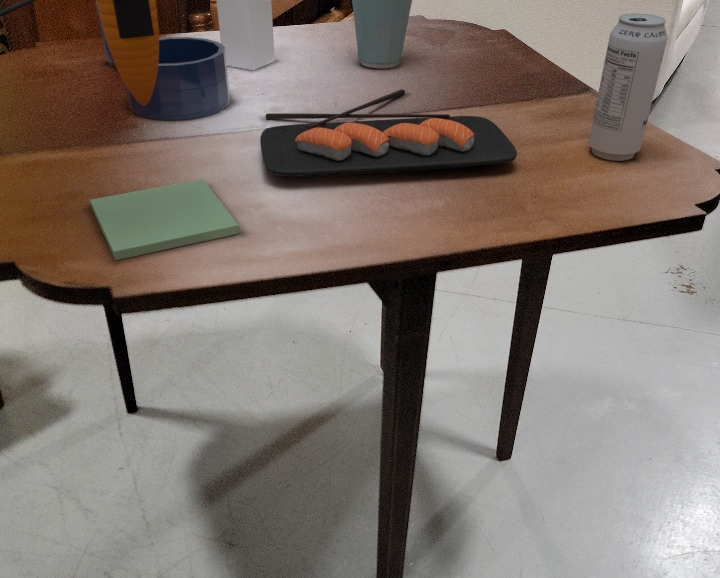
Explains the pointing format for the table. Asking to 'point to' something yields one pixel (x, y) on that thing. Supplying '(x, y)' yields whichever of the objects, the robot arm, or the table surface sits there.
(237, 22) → the milk
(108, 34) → the carrot
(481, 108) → the table surface
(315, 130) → the sushi plate
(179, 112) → the pot
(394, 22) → the disposable coffee cup
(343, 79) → the table surface
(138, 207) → the mat
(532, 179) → the table surface
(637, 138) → the energy drink can
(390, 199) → the table surface
